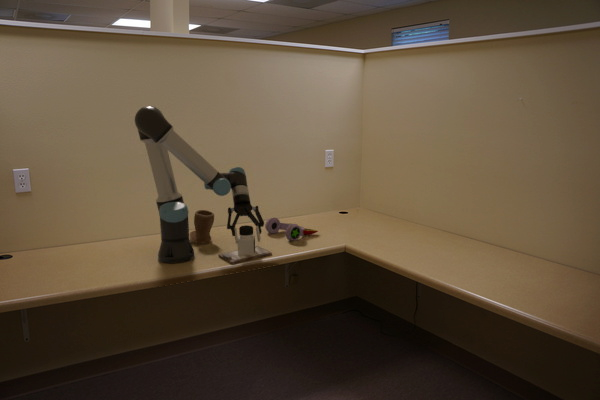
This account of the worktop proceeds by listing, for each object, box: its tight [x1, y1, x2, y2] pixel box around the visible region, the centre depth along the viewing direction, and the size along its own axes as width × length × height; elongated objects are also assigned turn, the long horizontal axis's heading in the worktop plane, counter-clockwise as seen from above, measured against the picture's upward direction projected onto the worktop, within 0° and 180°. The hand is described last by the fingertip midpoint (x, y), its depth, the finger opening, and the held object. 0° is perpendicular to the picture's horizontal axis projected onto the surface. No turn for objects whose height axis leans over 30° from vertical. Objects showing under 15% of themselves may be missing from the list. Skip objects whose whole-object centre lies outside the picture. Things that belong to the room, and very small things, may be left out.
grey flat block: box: [217, 245, 273, 265], centre depth 197 cm, size 20×12×2 cm, turn 128°
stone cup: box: [189, 209, 215, 244], centre depth 217 cm, size 15×12×15 cm
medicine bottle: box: [237, 224, 256, 255], centre depth 196 cm, size 7×7×12 cm
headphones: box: [264, 217, 319, 242], centre depth 228 cm, size 20×10×20 cm
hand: (248, 241), depth 193 cm, fingers open, 9 cm apart
